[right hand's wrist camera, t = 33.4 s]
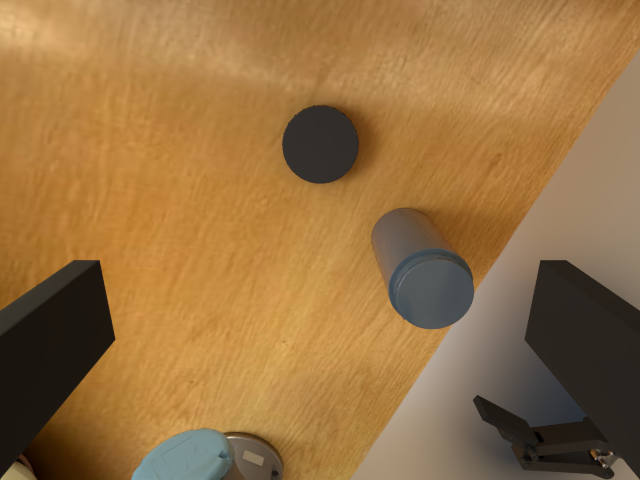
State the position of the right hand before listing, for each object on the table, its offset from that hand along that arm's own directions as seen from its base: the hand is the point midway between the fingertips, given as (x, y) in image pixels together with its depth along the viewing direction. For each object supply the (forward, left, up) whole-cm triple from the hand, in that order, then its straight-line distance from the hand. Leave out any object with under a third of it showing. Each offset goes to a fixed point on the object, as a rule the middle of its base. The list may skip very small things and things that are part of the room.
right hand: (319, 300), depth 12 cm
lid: (0, 0, -39) cm, 39 cm away
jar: (+8, +15, -41) cm, 44 cm away
